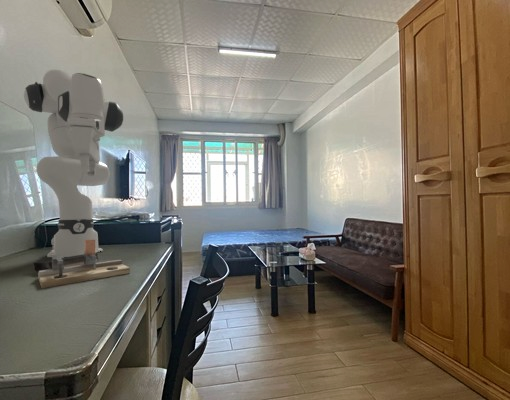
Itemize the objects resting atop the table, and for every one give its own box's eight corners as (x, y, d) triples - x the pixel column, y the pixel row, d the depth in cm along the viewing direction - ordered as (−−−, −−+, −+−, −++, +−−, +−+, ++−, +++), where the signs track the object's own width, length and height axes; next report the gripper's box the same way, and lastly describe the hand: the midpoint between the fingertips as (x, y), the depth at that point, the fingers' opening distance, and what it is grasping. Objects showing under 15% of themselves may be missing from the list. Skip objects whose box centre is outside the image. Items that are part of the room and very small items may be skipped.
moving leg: (83, 265, 78) (83, 239, 78) (93, 264, 80) (93, 238, 80) (89, 270, 72) (89, 242, 73) (99, 268, 74) (99, 241, 74)
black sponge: (47, 276, 77) (47, 263, 77) (31, 273, 80) (31, 260, 80) (101, 264, 91) (101, 253, 91) (85, 262, 95) (85, 251, 95)
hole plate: (38, 278, 73) (38, 258, 73) (117, 266, 86) (117, 249, 86) (41, 288, 64) (41, 265, 64) (129, 273, 77) (129, 253, 77)
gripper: (82, 136, 89) (83, 178, 88) (66, 116, 70) (67, 168, 70) (104, 137, 91) (105, 178, 91) (94, 118, 73) (95, 169, 72)
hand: (88, 174), depth 80 cm, fingers open, 8 cm apart
